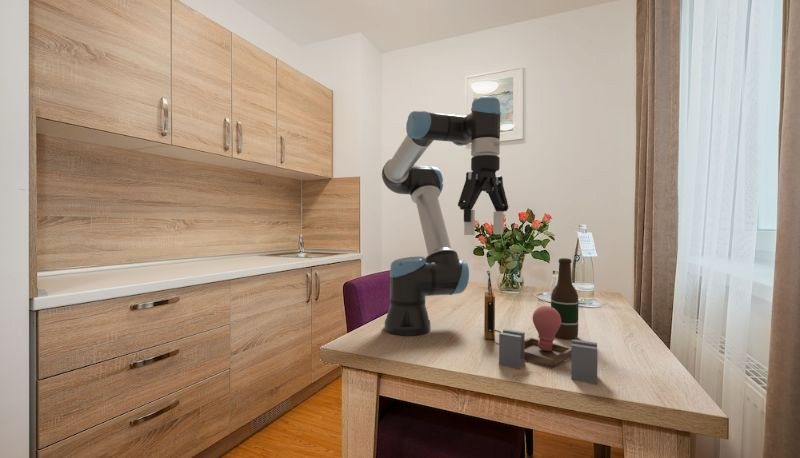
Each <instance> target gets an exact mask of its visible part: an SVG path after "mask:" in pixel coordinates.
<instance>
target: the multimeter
mask: <svg viewBox="0 0 800 458" xmlns="http://www.w3.org/2000/svg"><path fill="white" fill-rule="evenodd" d="M486 272H487V275H488V279H487V280H488V281H487V290H488V291H485V292H484V315H483V316H484V318H483V319H484V325H483V326H484V327H483V328H484V331H483V333H484V339H485V340H492V341H493V343H494V344H496V345H499V342H495V339H496V334H495V332H498V333H499V334H500V333H501V332H502V331H500V330H497V329H496V327H495V324H496V323H495V322H496V321H495V319H496V296H495V293H494V292H493V290H492V282H491V272H490V271H489V270H487V271H486Z"/></svg>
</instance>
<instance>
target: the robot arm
mask: <svg viewBox="0 0 800 458" xmlns="http://www.w3.org/2000/svg"><path fill="white" fill-rule="evenodd" d="M470 111H471V112H470V113H469V114H467V115H463V116H462V115H455V114H448V113H447V114H445V113H437V112H430V111H426V110H423V111H422V110H421V111H419V110H415V111H412V112H410V113H409V115H408V116H407V120H406V124H405V125H406V127H405V128H406V129H405V130H406V136H405V137H404V139H403V141H402V142H401V143H400V144H399V147H398V149H397V150H396V151H395V153H394V154H393V156H392V158H391V159H390V158H389V160H387V161H386V162H385V163H384V165H383V167H382V171H381V178H382V181H383V183H384V186H386V188H388V190H390V191H391V192H393V193H395V194H398V195H410V200H411V201H412V202H413V203H414V204H416V208H417V212H418V217H419V221H420V225H421V231H422V234H423V238H424V244H425V247H426V252H427V255H426V257H425V256H409V257H408V256H407V257H401V258H398V259H395V260H393V261H392V262H391V264H390V270H389V306H388V307H389V308H388V310H387V314H386V318H385V320H384V331H386V332H387V333H390V334H393V335H399V336H420V335H424V334H427V333H429V332H430V331H431V325H432V323H431V320H430V319H429V315H428V314H429V313H428V310H427V307H426V297H429V296H430V297H431V296H432V297H433V296H452V295H458V294H459V295H460V294H462V293H463V292H465V290H466V289H467V287H468V284H469V281H470V280H469V279H470V268H469V265H468V263H467V261H466V260H464V259H462V258H461V259H459V255H458V252H457V251H456V250H455V249H452V246H451V243H450V238H449V234H448V231H447V227H446V223H445V219H444V216H443V212H442V209H441V206H440V200H439V197H440V196H441V193H442V191H443V189H444V178H443V175H442V173H441V171H440V169H439V168H438V167H435V166H431V165H416V163H417V162H418V161H419V159H420V158H421V156H423V154H425V152H426V150H427V149H428V148H429V147H430V146H431V144H432V143H433V142H434V141H440V142H441V141H442V142H450V143H453V144H454V145H455V146H460V147H461V146H466V145H470V144H471V146H470V155H471V156H472V157H471V159H470V162H471V163H470V170H471V171H469V172H466V174H465V181H464V184H463V186H462V187H463V188H462V191H461V194H460V196H459V199H458V203H457V206H458V208H459V210H461V211H463V224H464V225H463V229H464V230H463V233H464V236H475V228H476V227H475V223H476V222H475V221H476V220H475V219H476V218H475V217H476V211H475V209H474V207H475V205H476V203H477V201H478V200H479V197H480V195H481V193H482V192H485V193H486V194H488V196H489V199H490V201H491V204H492V206H493V209H494V211H493V228H492V229H493V230H492V231H493V235H504V212H507V211H508V209H509V203H508V199H507V195H506V190H505V188H504V181H503V180H504V179H503V176H502V175H499V176H498V175H496V174H497V173H496V172H498V171H499V170H500V167H501V165H500V161H501V160H500V159H501V158H500V156H499V155H500V144H501V142H500V141H501V139H500V138H501V114H502V112H501V102H500V100H499V99H498V98H497V97H494V96H487V95H485V96H479V97H477V98H475V99H473V100H472V102H471V109H470Z"/></svg>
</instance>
